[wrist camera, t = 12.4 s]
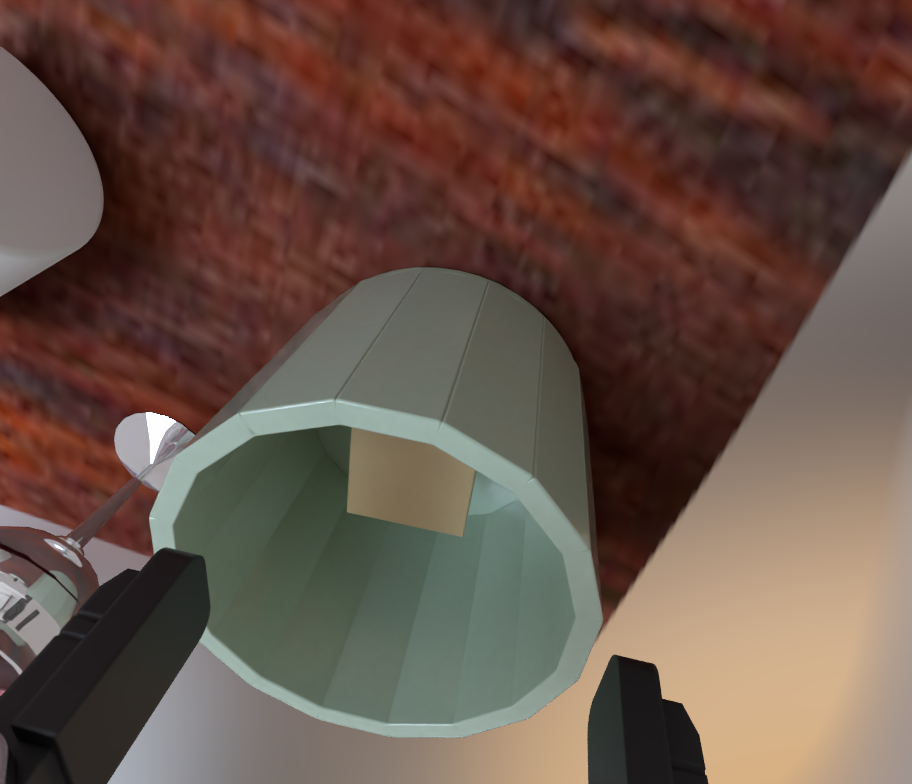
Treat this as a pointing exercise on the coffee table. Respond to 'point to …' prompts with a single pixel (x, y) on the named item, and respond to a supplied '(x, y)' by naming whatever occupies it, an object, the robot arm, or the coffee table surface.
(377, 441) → the block
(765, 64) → the coffee table surface
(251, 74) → the coffee table surface
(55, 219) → the mug
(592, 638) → the jar
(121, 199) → the coffee table surface
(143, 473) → the wineglass
